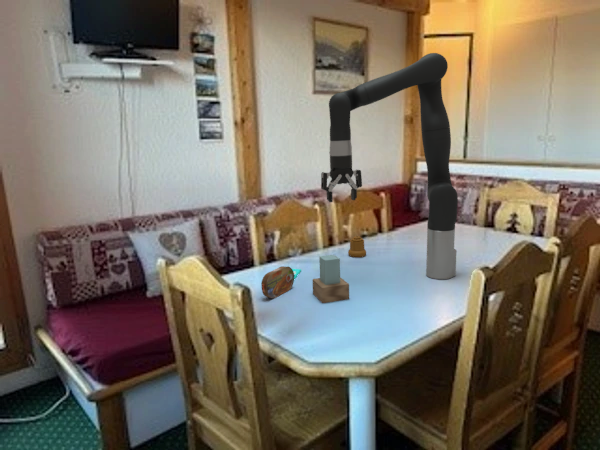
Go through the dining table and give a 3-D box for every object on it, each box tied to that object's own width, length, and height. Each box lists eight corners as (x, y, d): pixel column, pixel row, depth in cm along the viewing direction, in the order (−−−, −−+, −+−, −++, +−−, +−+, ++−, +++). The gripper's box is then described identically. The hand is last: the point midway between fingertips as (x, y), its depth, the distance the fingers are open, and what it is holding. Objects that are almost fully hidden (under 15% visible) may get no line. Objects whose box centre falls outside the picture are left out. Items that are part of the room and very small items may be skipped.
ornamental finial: (365, 258, 192) (346, 257, 194) (367, 253, 199) (349, 252, 201) (365, 239, 190) (346, 238, 192) (367, 234, 197) (349, 234, 199)
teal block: (334, 278, 154) (333, 254, 153) (340, 282, 150) (339, 258, 148) (319, 280, 153) (319, 256, 151) (325, 285, 148) (324, 260, 146)
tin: (268, 302, 149) (266, 276, 148) (260, 300, 151) (258, 275, 149) (295, 287, 162) (294, 263, 160) (287, 286, 163) (286, 262, 161)
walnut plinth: (338, 289, 158) (338, 275, 157) (349, 299, 149) (349, 284, 148) (312, 293, 155) (312, 279, 154) (322, 303, 147) (322, 287, 146)
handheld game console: (302, 272, 179) (302, 268, 179) (290, 286, 164) (290, 282, 163) (276, 270, 181) (276, 267, 181) (263, 285, 166) (263, 281, 166)
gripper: (324, 156, 155) (326, 204, 159) (364, 153, 159) (365, 200, 163) (317, 154, 162) (319, 201, 166) (355, 152, 166) (356, 197, 170)
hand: (342, 201), depth 164 cm, fingers open, 8 cm apart
